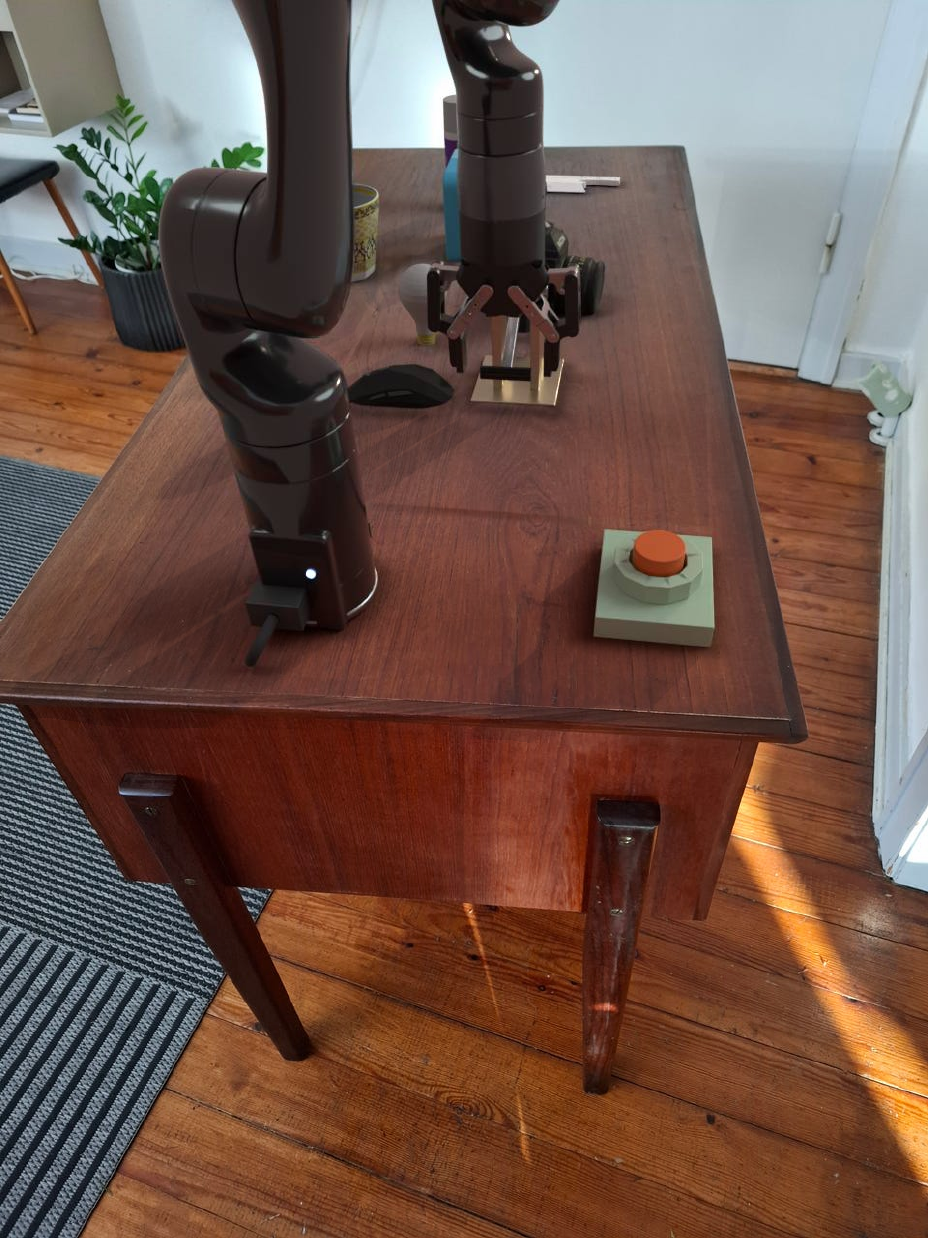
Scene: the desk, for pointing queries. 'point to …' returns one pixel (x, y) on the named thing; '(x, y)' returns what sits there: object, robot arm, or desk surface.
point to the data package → (451, 209)
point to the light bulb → (417, 300)
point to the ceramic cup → (365, 230)
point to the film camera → (558, 258)
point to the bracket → (518, 392)
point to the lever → (508, 359)
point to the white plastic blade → (577, 183)
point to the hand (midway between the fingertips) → (505, 371)
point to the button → (659, 553)
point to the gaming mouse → (401, 388)
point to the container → (450, 126)
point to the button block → (655, 595)
